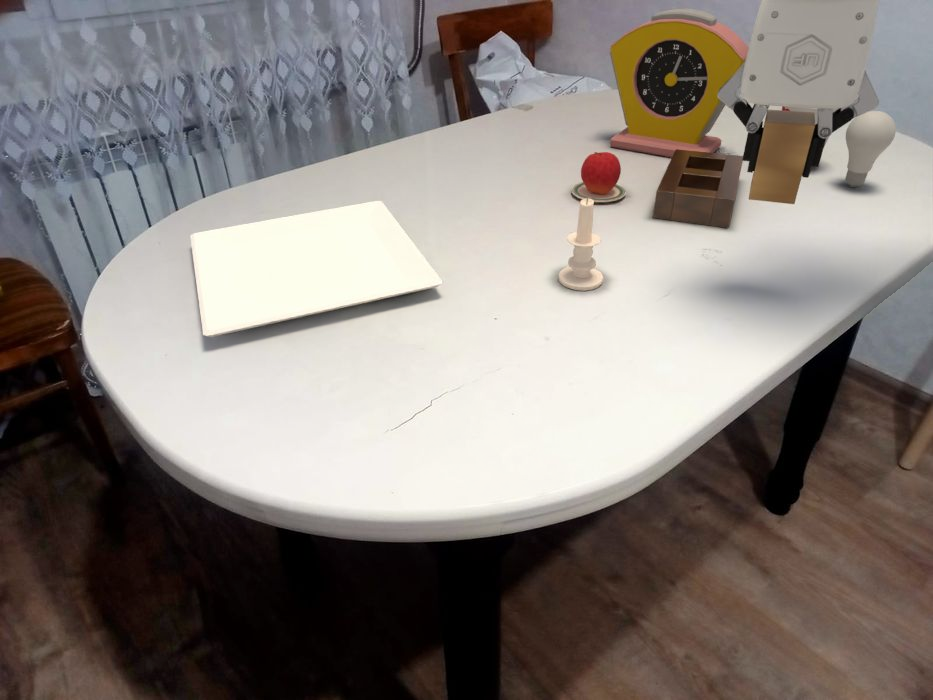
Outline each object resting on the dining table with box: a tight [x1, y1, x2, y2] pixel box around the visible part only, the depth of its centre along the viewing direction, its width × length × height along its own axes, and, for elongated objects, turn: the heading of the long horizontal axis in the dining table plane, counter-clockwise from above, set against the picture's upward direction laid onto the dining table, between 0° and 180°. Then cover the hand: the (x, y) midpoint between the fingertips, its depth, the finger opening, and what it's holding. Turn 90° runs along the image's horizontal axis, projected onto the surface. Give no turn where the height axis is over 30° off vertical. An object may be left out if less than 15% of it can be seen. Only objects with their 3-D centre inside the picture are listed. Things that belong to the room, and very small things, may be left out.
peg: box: [748, 109, 815, 205], centre depth 67 cm, size 4×4×8 cm
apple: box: [571, 151, 627, 203], centre depth 97 cm, size 8×8×6 cm
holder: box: [652, 149, 744, 229], centre depth 95 cm, size 10×18×4 cm, turn 157°
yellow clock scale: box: [609, 7, 749, 159], centre depth 108 cm, size 22×9×22 cm, turn 56°
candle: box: [558, 197, 604, 292], centre depth 75 cm, size 5×5×10 cm
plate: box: [189, 200, 444, 338], centre depth 81 cm, size 26×26×2 cm
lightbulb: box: [844, 110, 897, 188], centre depth 95 cm, size 6×6×11 cm
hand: (778, 168), depth 68 cm, fingers closed on peg, 4 cm apart
